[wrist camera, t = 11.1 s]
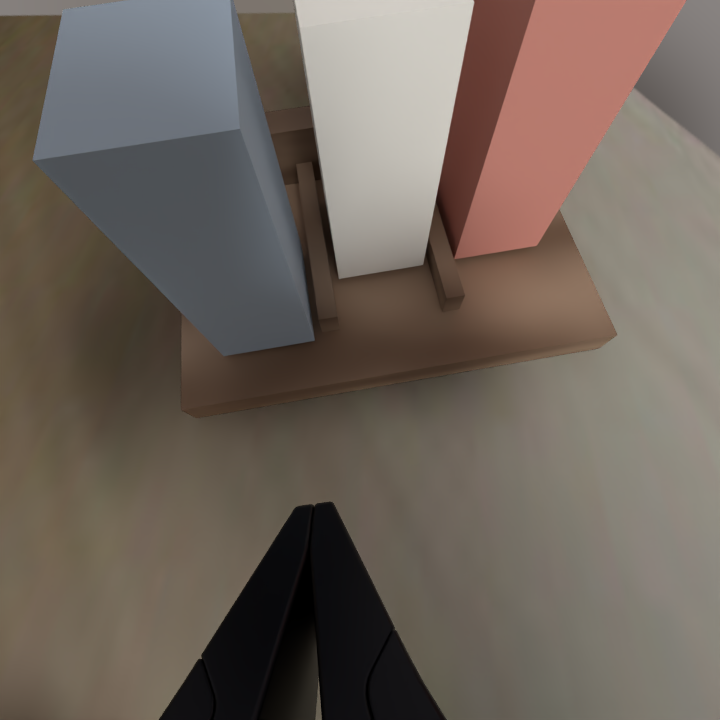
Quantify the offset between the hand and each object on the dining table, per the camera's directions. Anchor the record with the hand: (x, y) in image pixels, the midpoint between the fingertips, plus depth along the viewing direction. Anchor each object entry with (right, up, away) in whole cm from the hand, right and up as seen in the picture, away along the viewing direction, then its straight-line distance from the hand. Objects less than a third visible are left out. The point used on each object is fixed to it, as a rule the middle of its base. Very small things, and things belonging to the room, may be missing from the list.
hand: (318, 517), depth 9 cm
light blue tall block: (-3, +6, +9) cm, 12 cm away
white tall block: (+1, +10, +10) cm, 14 cm away
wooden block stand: (+2, +8, +12) cm, 14 cm away
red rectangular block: (+7, +11, +10) cm, 17 cm away
